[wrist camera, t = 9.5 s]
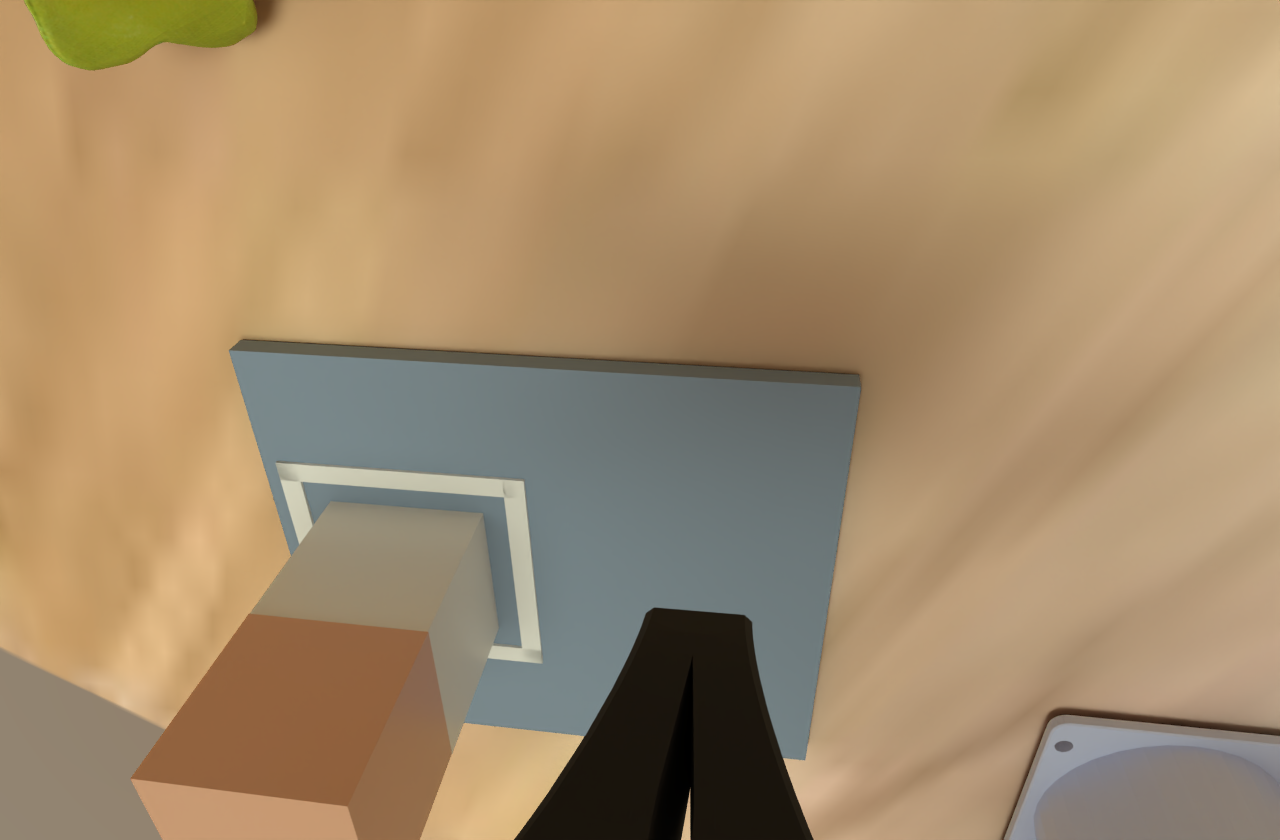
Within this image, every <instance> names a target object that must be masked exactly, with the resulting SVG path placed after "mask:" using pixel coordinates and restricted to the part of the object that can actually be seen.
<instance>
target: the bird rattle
mask: <svg viewBox="0 0 1280 840" xmlns="http://www.w3.org/2000/svg"><path fill="white" fill-rule="evenodd" d="M24 2H25V4H26V6H27V8H28V9H29V11H30V12H31V14H32V16H33V18H34V20H35V22H36V25H37V27H38V29H39V32H40V34H41V36H42V38H43V39H44V41H45V43H46V44H47V46H48V48H49V49H50V50H51V51H52V52H53V54H54V55H55V56H57V57H58V58H59V59H60V60H61V61H63V62H64V63H66V64H68V65H70V66H74V67H78V68H81V69H85V70H99V69H105V68H109V67H114V66H119V65H123V64H127V63H130V62H132V61H134V60H136V59H137V58H139V57H140V56H142V55H143V54H145V53H146V52H147V51H148V50H149V49H151V48H152V47H154V46H155V45H158V44H160V43H163V42H171V43H176V44H184V45H190V46H196V47H208V48H216V47H227V46H231V45H234V44H236V43H238V42H239V41H241V40H242V39H244V38H245V37H247V36H248V35H250V34H251V33H253V32H254V31H255V30H256V25H257V12H256V8H255V4H254V2H253V0H24Z"/></svg>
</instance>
